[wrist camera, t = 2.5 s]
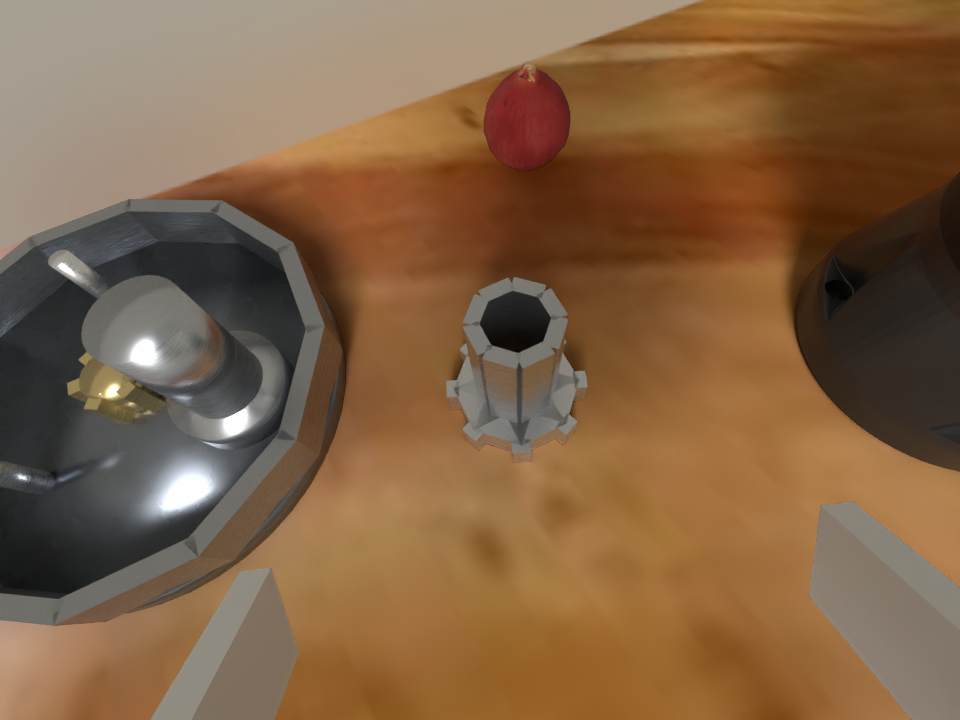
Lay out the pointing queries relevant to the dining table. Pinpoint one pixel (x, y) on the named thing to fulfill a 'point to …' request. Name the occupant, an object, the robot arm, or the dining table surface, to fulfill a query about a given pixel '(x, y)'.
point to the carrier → (154, 404)
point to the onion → (527, 119)
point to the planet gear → (516, 370)
